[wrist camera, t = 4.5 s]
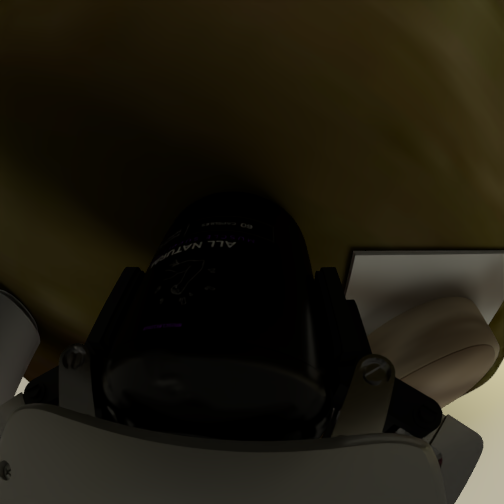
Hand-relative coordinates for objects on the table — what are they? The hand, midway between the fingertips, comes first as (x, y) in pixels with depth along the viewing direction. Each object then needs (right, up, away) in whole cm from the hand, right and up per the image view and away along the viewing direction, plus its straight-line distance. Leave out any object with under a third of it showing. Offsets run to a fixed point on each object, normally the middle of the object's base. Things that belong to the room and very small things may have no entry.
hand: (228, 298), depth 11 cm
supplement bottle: (0, +2, +3) cm, 3 cm away
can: (-22, -4, +8) cm, 23 cm away
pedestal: (+14, -6, +8) cm, 18 cm away
